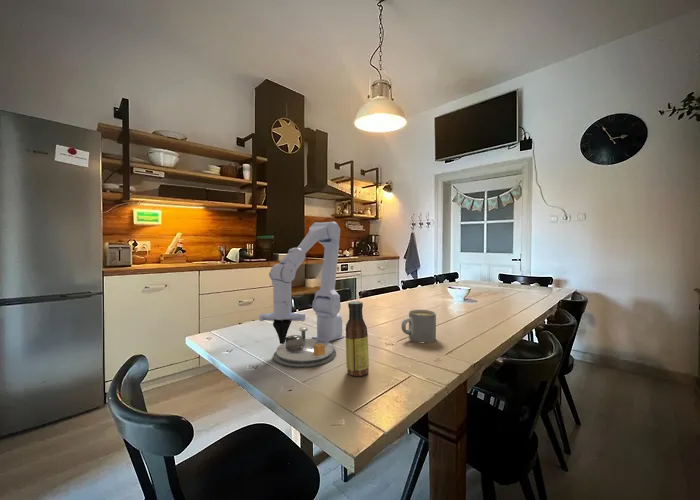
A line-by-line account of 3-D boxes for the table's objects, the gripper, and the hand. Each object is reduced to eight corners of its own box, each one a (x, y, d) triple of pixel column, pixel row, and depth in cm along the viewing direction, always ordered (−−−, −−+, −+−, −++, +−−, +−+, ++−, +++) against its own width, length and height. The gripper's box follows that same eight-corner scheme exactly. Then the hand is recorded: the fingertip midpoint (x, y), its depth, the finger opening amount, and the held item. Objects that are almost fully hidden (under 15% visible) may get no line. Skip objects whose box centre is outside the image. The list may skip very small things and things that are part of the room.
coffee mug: (429, 334, 122) (430, 309, 122) (439, 342, 112) (440, 315, 112) (397, 335, 121) (397, 310, 121) (404, 343, 111) (404, 316, 111)
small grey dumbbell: (304, 340, 114) (304, 326, 114) (309, 342, 112) (309, 328, 112) (297, 342, 112) (297, 328, 112) (302, 344, 109) (302, 330, 109)
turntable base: (312, 341, 114) (312, 339, 114) (348, 355, 99) (348, 353, 99) (262, 354, 100) (262, 352, 100) (296, 373, 86) (296, 371, 85)
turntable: (311, 339, 112) (311, 328, 112) (344, 352, 99) (344, 339, 99) (266, 351, 100) (266, 338, 100) (297, 368, 87) (297, 353, 87)
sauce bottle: (371, 369, 88) (371, 300, 88) (365, 379, 82) (365, 305, 82) (349, 366, 90) (349, 299, 90) (342, 375, 84) (342, 303, 84)
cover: (297, 343, 104) (297, 332, 104) (306, 347, 99) (306, 336, 99) (282, 347, 100) (282, 336, 100) (291, 351, 96) (291, 340, 96)
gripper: (256, 303, 96) (256, 346, 96) (302, 303, 95) (302, 347, 96) (263, 299, 103) (263, 339, 103) (306, 299, 102) (306, 340, 103)
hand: (282, 342), depth 100 cm, fingers closed
